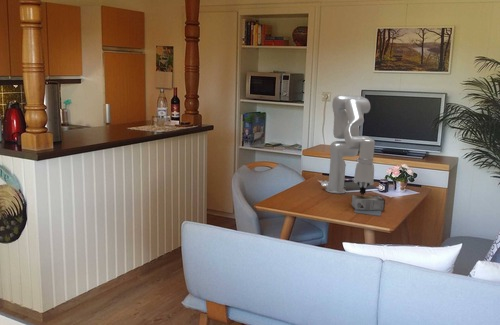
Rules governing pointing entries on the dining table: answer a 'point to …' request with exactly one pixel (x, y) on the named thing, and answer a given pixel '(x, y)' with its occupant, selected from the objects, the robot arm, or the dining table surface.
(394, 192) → the dining table surface
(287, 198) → the dining table surface
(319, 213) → the dining table surface
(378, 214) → the mat
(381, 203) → the coffee box
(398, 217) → the dining table surface
